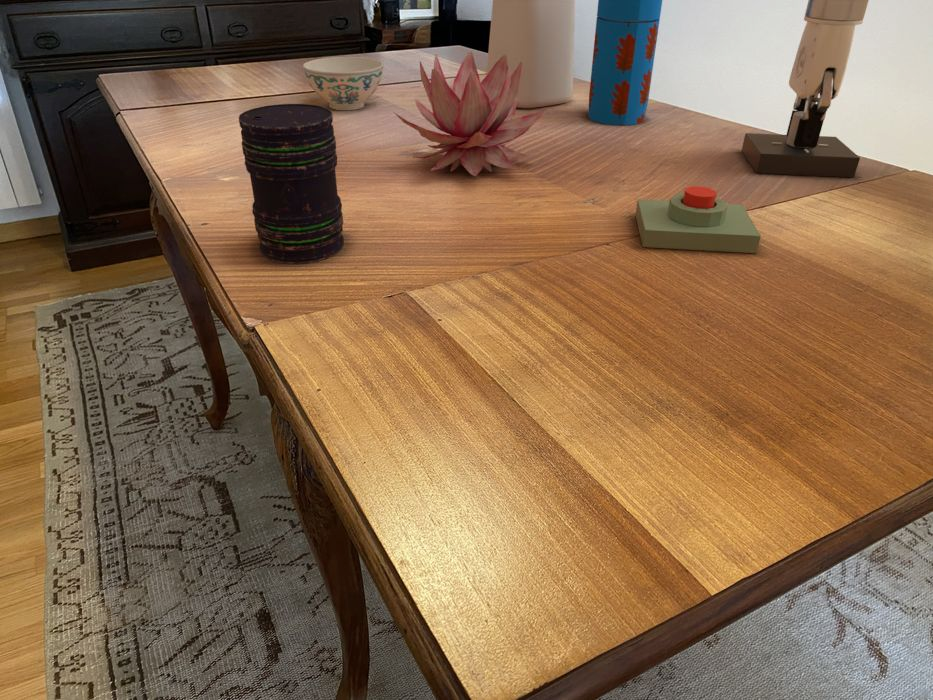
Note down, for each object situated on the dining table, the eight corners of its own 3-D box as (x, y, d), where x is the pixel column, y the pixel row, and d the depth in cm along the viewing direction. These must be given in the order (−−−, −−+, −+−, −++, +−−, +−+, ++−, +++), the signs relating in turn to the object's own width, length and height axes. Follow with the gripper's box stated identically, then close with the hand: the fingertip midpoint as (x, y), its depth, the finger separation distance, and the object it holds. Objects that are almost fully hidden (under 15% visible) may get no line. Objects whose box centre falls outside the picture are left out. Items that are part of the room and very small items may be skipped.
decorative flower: (568, 174, 104) (578, 66, 96) (442, 200, 95) (441, 83, 87) (491, 138, 120) (493, 43, 112) (376, 157, 111) (370, 54, 102)
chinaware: (328, 94, 146) (324, 54, 141) (396, 100, 142) (394, 59, 138) (293, 112, 133) (288, 69, 129) (367, 118, 130) (364, 74, 126)
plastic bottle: (520, 112, 135) (529, -57, 120) (476, 96, 145) (479, -61, 130) (581, 102, 142) (596, -59, 127) (534, 87, 152) (543, -62, 137)
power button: (710, 200, 86) (713, 186, 85) (716, 211, 83) (719, 197, 82) (680, 199, 86) (683, 185, 85) (684, 210, 83) (687, 195, 82)
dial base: (830, 155, 113) (836, 135, 112) (854, 177, 104) (860, 156, 102) (741, 151, 115) (745, 132, 113) (756, 173, 106) (761, 152, 104)
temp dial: (783, 140, 110) (791, 108, 107) (811, 141, 109) (819, 109, 107) (789, 147, 106) (797, 114, 104) (816, 149, 106) (826, 116, 103)
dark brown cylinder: (336, 224, 88) (324, 100, 79) (353, 256, 80) (342, 122, 72) (254, 235, 85) (232, 107, 77) (263, 269, 77) (241, 131, 69)
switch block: (738, 220, 90) (745, 190, 88) (756, 253, 81) (764, 221, 79) (635, 215, 91) (639, 185, 89) (642, 247, 83) (647, 215, 81)
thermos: (656, 117, 132) (679, -34, 119) (625, 128, 126) (645, -30, 112) (608, 107, 138) (624, -38, 125) (575, 117, 132) (589, -35, 118)
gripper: (793, 2, 105) (764, 126, 115) (822, 17, 91) (786, 157, 101) (846, 3, 104) (812, 128, 114) (884, 19, 90) (842, 160, 100)
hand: (801, 140), depth 108 cm, fingers closed on temp dial, 4 cm apart
